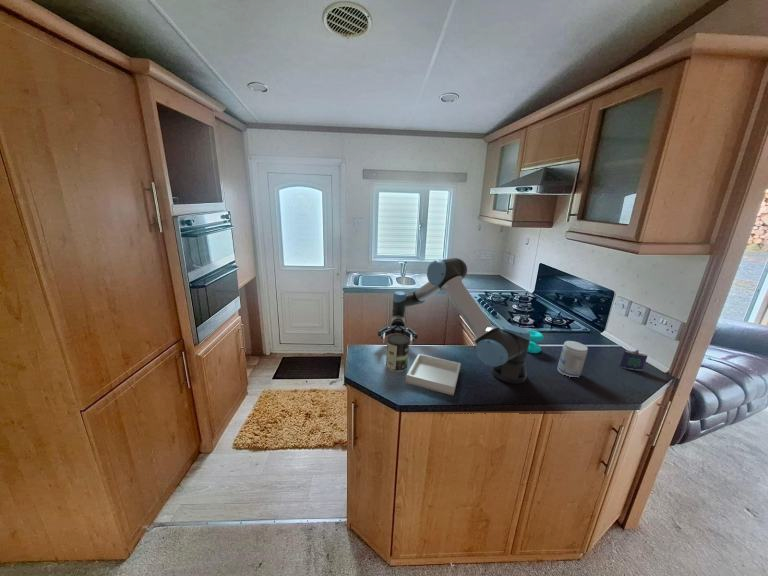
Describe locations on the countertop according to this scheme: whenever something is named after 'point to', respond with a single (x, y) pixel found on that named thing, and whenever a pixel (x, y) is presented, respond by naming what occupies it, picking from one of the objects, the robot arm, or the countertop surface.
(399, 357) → the coffee can
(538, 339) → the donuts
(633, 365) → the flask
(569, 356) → the supplement tub
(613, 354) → the countertop surface
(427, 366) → the box
